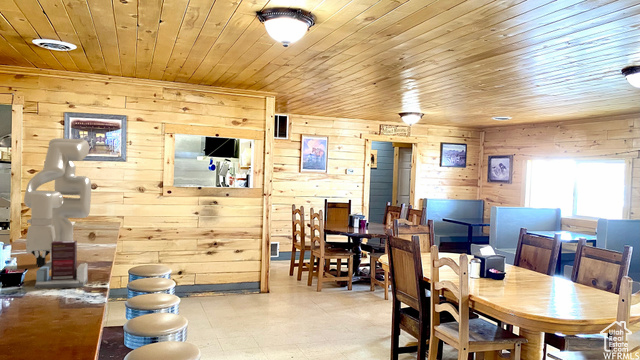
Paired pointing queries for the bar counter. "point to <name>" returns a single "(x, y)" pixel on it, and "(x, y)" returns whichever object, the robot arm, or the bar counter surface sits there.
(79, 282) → the vise bed
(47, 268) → the sliding jaw
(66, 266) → the supplement box
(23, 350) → the bar counter surface
